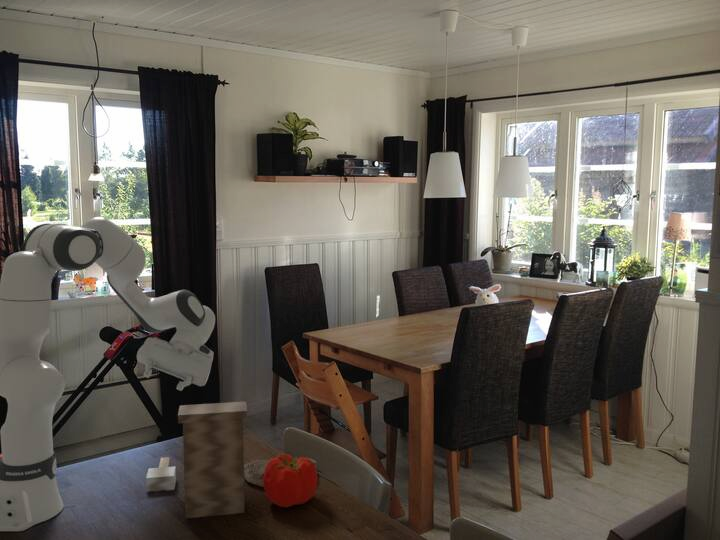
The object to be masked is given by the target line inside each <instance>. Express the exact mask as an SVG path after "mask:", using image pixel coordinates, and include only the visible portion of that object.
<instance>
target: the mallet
mask: <svg viewBox="0 0 720 540" xmlns="http://www.w3.org/2000/svg"><path fill="white" fill-rule="evenodd" d="M170 459H171V457H170V456H168V457H167V456H165V457H160V461H159V465H158V467H151V468H148V470H147V473H146V476H145V484H146V493H150V492H149V491H154V492H161V490H165V491H174V490H175V487H176V483H177V482H176V481H177V473H176V471H177V469H176V466H170V464H171V463H170V462H171V460H170Z"/></svg>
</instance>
